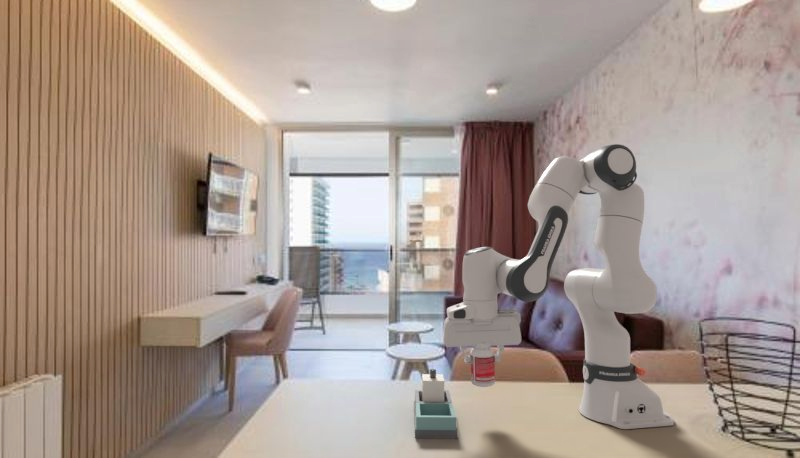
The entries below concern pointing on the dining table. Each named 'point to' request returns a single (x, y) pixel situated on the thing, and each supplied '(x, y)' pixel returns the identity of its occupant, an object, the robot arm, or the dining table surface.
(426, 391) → the teal tray with block
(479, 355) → the pill bottle
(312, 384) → the dining table surface
